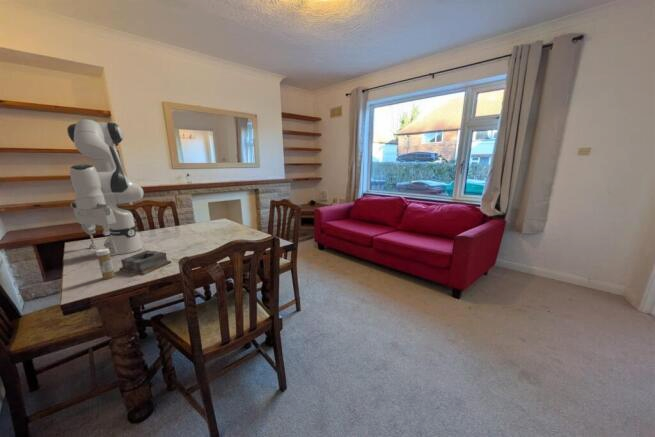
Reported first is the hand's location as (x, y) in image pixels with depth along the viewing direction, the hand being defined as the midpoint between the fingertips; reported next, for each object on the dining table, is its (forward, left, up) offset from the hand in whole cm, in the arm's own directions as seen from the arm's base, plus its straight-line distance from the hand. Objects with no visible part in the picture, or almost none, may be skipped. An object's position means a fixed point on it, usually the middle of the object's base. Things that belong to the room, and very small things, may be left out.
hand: (99, 234), depth 110 cm
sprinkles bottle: (0, 0, -21) cm, 21 cm away
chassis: (+5, +13, -21) cm, 25 cm away
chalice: (-55, +24, -21) cm, 64 cm away
